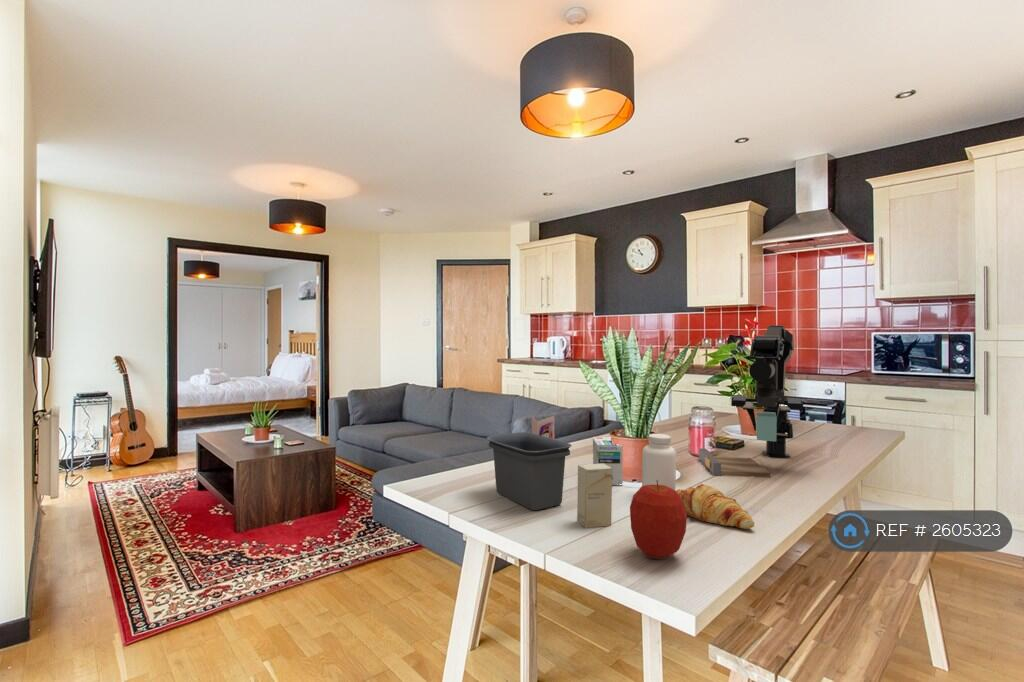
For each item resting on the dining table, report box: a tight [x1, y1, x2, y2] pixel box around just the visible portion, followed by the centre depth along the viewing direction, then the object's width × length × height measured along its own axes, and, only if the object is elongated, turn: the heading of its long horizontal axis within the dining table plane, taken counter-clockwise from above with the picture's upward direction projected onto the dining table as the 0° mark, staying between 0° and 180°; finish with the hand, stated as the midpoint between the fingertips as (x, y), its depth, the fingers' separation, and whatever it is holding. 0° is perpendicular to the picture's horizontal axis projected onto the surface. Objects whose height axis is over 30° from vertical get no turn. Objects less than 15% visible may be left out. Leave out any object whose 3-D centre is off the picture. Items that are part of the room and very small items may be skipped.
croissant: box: [675, 483, 755, 530], centre depth 111 cm, size 21×10×8 cm, turn 34°
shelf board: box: [714, 456, 771, 478], centre depth 150 cm, size 17×13×1 cm
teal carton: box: [755, 411, 777, 442], centre depth 149 cm, size 5×9×7 cm, turn 155°
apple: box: [629, 480, 688, 560], centre depth 91 cm, size 10×10×14 cm
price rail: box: [698, 447, 722, 477], centre depth 151 cm, size 18×2×4 cm, turn 172°
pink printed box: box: [531, 414, 555, 439], centre depth 150 cm, size 11×7×15 cm, turn 150°
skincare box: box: [576, 463, 613, 529], centre depth 107 cm, size 6×4×12 cm
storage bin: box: [486, 431, 573, 511], centre depth 123 cm, size 21×16×14 cm
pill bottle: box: [641, 433, 677, 491], centre depth 124 cm, size 8×8×15 cm
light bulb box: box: [592, 436, 624, 486], centre depth 138 cm, size 11×7×11 cm, turn 179°
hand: (765, 431), depth 149 cm, fingers closed on teal carton, 5 cm apart
